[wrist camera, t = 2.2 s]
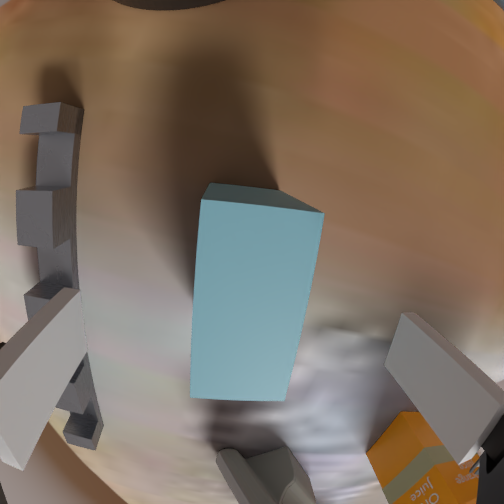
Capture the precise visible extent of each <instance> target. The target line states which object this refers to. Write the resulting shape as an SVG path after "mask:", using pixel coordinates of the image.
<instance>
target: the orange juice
mask: <svg viewBox="0 0 504 504" xmlns="http://www.w3.org/2000/svg"><path fill="white" fill-rule="evenodd" d="M366 455H367V457H368V459H369V461H370V463H371V465H372V467H373V470H374V472H375V474H376V476H377V478H378V480H379V482H380V484H381V487H382V490H383V492H384V494H385V496H386V499H387V501H388V503H389V504H476V500H477V491H478V480H479V475H476V474H474V473H475V472H476V471H477V470H478V468H479V467H476V468H475V469H474V471H473V472H472V473H469V471H470V468H471V467H472V466H473V465H474V464H475V462H476V461H477V460H478V459H479V455H478V453H476V454H475V455H474V456H473V458H472V459H470V460H468V461H466V462H463V463H461V464H459V465H458V464H457V463H456V461H455V460H454V458H453V457H452V456H451V454H450V453H449V451H448V450H447V449H446V447H445V446H444V444H443V443H442V442H441V440H440V439H439V438H438V436H437V435H436V433H435V432H434V431H433V429H432V428H431V427H430V425H429V424H428V423H427V421H426V420H425V419H424V417H423V416H422V415H421V413H420V412H400V413H399V414H398V416H397V417H396V418H395V420H394V421H393V422H392V423H391V425H390V426H389V427H388V428H387V429H386V431H385V432H384V433H383V434H382V435H381V437H380V438H379V439H378V440H377V441H376V443H375V444H374V445H373V446H372V447H371V448H370V449H369V450H368V452H367V453H366Z"/></svg>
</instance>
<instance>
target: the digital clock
mask: <svg viewBox="0 0 504 504" xmlns="http://www.w3.org/2000/svg"><path fill="white" fill-rule="evenodd" d="M216 463H217V465H218V467H219V469H220V471H221V473H222V474H223V476H224V478H225V480H226V482H227V483H228V485H229V487H230V489H231V490H232V492H233V494H234V496H235V497H236V499H237V501H238V502H239V504H316V500H315V496H314V492H313V489H312V486H311V482H310V479H309V477H308V476H307V474H306V473H305V472H304V470H303V469H302V467H301V466H300V464H299V463H298V461H297V460H296V459H295V457H294V456H293V454H292V453H291V451H290V450H289V448H288V447H282V448H279V449H276V450H273V451H270V452H267V453H264V454H260V455H257V456H254V457H250V458H247V459H244V458H243V456H242V455H241V454H240V453H239V452H238V451H237V450H235V449H223V450H220V451H219V452H218V455H217V458H216Z"/></svg>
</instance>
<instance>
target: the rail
mask: <svg viewBox="0 0 504 504" xmlns="http://www.w3.org/2000/svg"><path fill="white" fill-rule="evenodd" d="M83 115H84V109H81V108H78V107H75V106H71V105H68V104H65V103H62V102H57V103H47V104H38V105H30V106H23V111H22V118H21V125H20V134H27V135H39V144H38V156H37V172H36V186H33V187H29V188H24V189H19V190H16V221H17V240H18V245H23V246H32V247H37V252H38V264H39V274H40V282H39V283H38V284H37V285H35V286H34V287H33V288H32V289H30V290H29V291H28V292H27V293H25V294H24V299H25V305H26V310H27V316H28V321H29V320H30V319H31V318H32V317H33V316H34V315H35V314H36V313H37V312H38V311H39V310H40V309H41V308H42V307H43V306H44V305H45V304H47V303H48V302H49V301H50V300H51V299H52V298H53V297H54V296H55V295H56V294H57V293H58V292H60V291H61V290H62V289H63V288H64V287H65V288H71V289H78V290H79V282H78V267H77V245H76V196H77V175H78V160H79V149H80V139H81V130H82V122H83ZM55 407H56V408H60V409H64V410H67V411H70V414H71V415H70V417H69V419H68V421H67V423H66V426H65V428H64V430H63V434H64V436H65V439H66V441H67V443H69V444H73V445H76V446H80V447H84V448H87V449H91V450H96V447H97V444H98V441H99V438H100V435H101V432H102V429H103V426H104V424H103V421H102V417H101V413H100V409H99V406H98V401H97V397H96V393H95V389H94V384H93V379H92V375H91V370H90V364H89V359H88V353H87V352H86V354H85V356H84V357H83V359H82V361H81V362H80V364H79V366H78V367H77V369H76V371H75V373H74V374H73V376H72V378H71V379H70V381H69V383H68V385H67V386H66V388H65V390H64V392H63V394H62V395H61V397H60V399H59V401H58V403H57V405H56V406H55Z"/></svg>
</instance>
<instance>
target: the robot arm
mask: <svg viewBox="0 0 504 504" xmlns="http://www.w3.org/2000/svg"><path fill="white" fill-rule="evenodd" d="M113 1H115V2H118V3H120V4H123V5H126V6H129V7H134V8H139V9H146V10H180V9H189V8H195V7H201V6H206V5H210V4H214V3H218V2H221V1H224V0H113ZM494 1H495V2H496V3H497V4H498V5H499V6H500V7H501V8H502V9H503V10H504V0H494ZM87 351H88V348H87V341H86V334H85V327H84V319H83V310H82V300H81V290H78V289H71V288H65V287H64V288H63V289H62V290H61V291H60V292H58V293H57V294H56V295H55V296H54V297H53V298H52V299H51V300H50V301H49V302H48V303H47V304H45V305H44V306H43V307H42V308H41V309H40V310H39V311H38V312H37V313H36V314H35V315H34V316H33V317H32V318H31V319H30V320H29V321H28V322H27V323H26V324H25V325H24V326H23V327H22V328H21V329H20V330H19V331H18V332H17V333H16V334H15V335H14V336H13V337H12V338H11V339H10V340H9V341H8V342H7V343H4V342H2V343H0V458H1V460H2V461H3V462H4V463H7V464H9V465H11V466H13V467H15V468H18V469H20V470H22V471H24V468H25V466H26V464H27V462H28V460H29V458H30V456H31V454H32V451H33V449H34V447H35V445H36V443H37V441H38V439H39V437H40V435H41V433H42V431H43V429H44V427H45V425H46V423H47V421H48V420H49V418H50V416H51V414H52V412H53V410H54V408H55V406H56V405H57V403H58V401H59V399H60V397H61V395H62V394H63V392H64V390H65V388H66V386H67V385H68V383H69V381H70V379H71V378H72V376H73V374H74V373H75V371H76V369H77V367H78V366H79V364H80V362H81V361H82V359H83V357H84V356H85V354H86V352H87ZM384 366H385V367H386V368H387V370H388V371H389V372H390V374H391V375H392V376H393V378H394V379H395V380H396V381H397V383H398V384H399V385H400V387H401V388H402V389H403V391H404V392H405V393H406V395H407V396H408V397H409V399H410V400H411V401H412V403H413V404H414V405H415V406H416V408H417V409H418V410H419V412H420V413H421V415H422V416H423V417H424V419H425V420H426V421H427V423H428V424H429V425H430V427H431V428H432V429H433V431H434V432H435V433H436V435H437V436H438V438H439V439H440V440H441V442H442V443H443V444H444V446H445V447H446V449H447V450H448V451H449V453H450V454H451V456H452V457H453V458H454V460H455V461H456V463H457V464H458V465H459V464H461V463H463V462H466V461H468V460H470V459H472V458H473V456H474V455H475V454H476V453H477V451H478V450H479V449H480V447H482V448H483V449H484V450H485V451H484V452H483V454H482V455H481V456H480V457H479V459H478V460H477V461H476V462H475V464H474V465H473V466H472V467H471V468H470V471H469V473H472V472H473V471H474V469H475V468H476V467H479V468H478V470H477V471H476V472H475V473H474V474H476V475H479V480H478V491H477V500H476V504H504V391H503V390H502V389H501V388H500V387H499V386H498V385H497V384H496V383H495V382H494V381H493V380H492V379H490V378H489V377H488V376H487V375H486V374H485V373H484V372H483V371H482V370H481V369H480V368H478V367H477V366H476V365H475V364H474V363H473V362H472V361H471V360H470V359H468V358H467V357H466V356H465V355H464V354H463V353H462V352H461V351H459V350H458V349H457V348H456V347H455V346H454V345H453V344H451V343H450V342H449V341H448V340H447V339H446V338H444V337H443V336H442V335H441V334H440V333H439V332H437V331H436V330H435V329H434V328H433V327H432V326H430V325H429V324H428V323H427V322H426V321H424V320H423V319H422V318H421V317H420V316H418V315H417V314H416V313H402V314H401V317H400V320H399V323H398V326H397V329H396V332H395V335H394V338H393V341H392V344H391V347H390V349H389V352H388V355H387V358H386V360H385V363H384ZM0 504H7V501H6V498H5V495H4V492H3V489H2V486H1V483H0Z"/></svg>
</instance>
